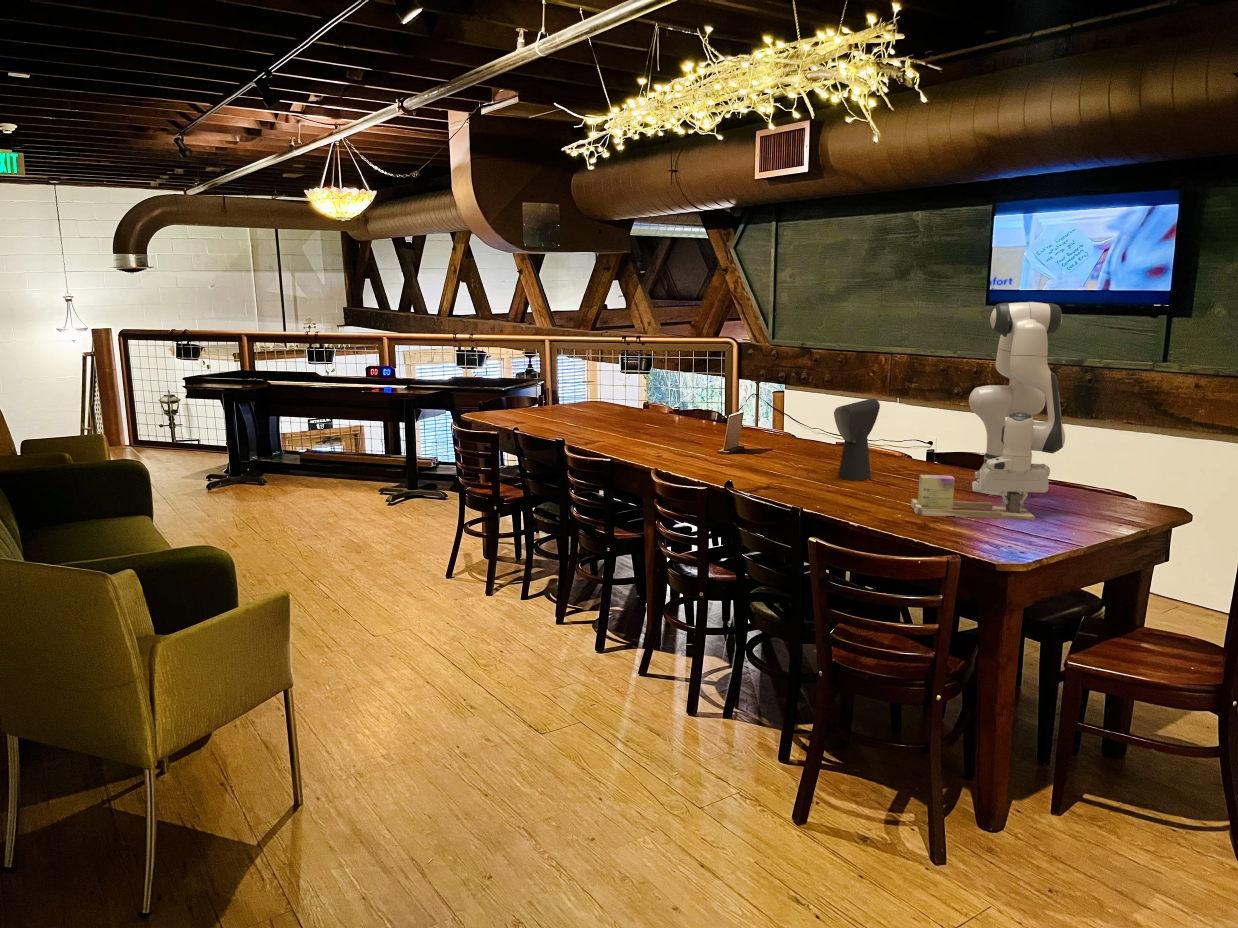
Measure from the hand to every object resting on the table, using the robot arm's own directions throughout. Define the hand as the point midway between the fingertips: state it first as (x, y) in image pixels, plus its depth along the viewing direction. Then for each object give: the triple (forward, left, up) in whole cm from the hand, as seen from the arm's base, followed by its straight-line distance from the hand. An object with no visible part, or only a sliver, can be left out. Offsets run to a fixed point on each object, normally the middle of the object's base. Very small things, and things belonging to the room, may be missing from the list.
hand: (1012, 504), depth 291 cm
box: (0, -24, -3) cm, 25 cm away
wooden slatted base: (0, -13, -3) cm, 13 cm away
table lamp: (-48, -51, -3) cm, 70 cm away
